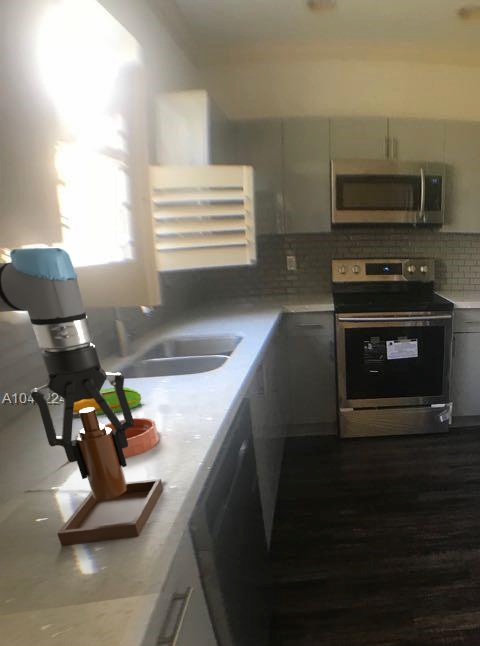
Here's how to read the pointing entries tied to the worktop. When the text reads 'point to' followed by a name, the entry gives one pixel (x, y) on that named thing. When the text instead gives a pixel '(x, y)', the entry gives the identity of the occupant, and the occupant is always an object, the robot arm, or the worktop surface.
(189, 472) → the worktop surface
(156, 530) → the worktop surface
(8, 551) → the worktop surface
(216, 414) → the worktop surface
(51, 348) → the robot arm
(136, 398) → the corn
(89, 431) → the bottle
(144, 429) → the bowl
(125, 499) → the tray
